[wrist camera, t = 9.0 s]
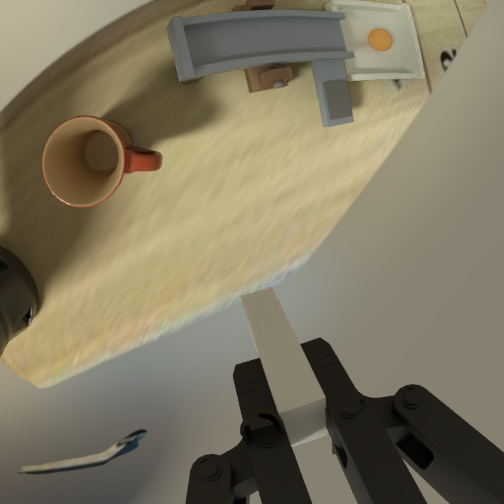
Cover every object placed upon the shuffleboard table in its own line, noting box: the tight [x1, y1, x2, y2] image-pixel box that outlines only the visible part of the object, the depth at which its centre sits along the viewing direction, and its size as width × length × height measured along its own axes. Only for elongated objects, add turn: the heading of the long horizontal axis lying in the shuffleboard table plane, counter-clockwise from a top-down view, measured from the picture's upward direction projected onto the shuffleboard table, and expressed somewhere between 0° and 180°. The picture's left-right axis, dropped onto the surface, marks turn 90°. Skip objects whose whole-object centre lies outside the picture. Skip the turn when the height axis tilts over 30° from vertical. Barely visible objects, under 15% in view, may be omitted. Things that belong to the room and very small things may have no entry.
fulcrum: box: [182, 0, 293, 93], centre depth 28 cm, size 12×11×8 cm
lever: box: [167, 10, 355, 127], centre depth 27 cm, size 20×14×3 cm
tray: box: [323, 0, 425, 82], centre depth 31 cm, size 12×12×4 cm
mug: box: [42, 116, 163, 208], centre depth 29 cm, size 12×9×10 cm
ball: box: [368, 29, 392, 51], centre depth 31 cm, size 3×3×3 cm
